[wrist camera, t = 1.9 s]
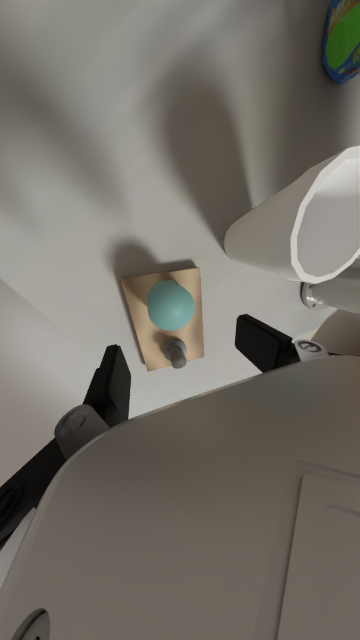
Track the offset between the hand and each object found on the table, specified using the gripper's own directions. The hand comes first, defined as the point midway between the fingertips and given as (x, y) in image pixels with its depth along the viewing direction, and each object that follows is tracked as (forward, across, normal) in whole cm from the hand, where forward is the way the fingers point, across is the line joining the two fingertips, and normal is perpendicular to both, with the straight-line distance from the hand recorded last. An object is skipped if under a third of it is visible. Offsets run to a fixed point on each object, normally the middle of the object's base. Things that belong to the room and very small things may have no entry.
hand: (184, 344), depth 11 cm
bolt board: (+14, -1, +5) cm, 15 cm away
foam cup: (+14, -15, -7) cm, 22 cm away
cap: (+13, -1, 0) cm, 13 cm away
